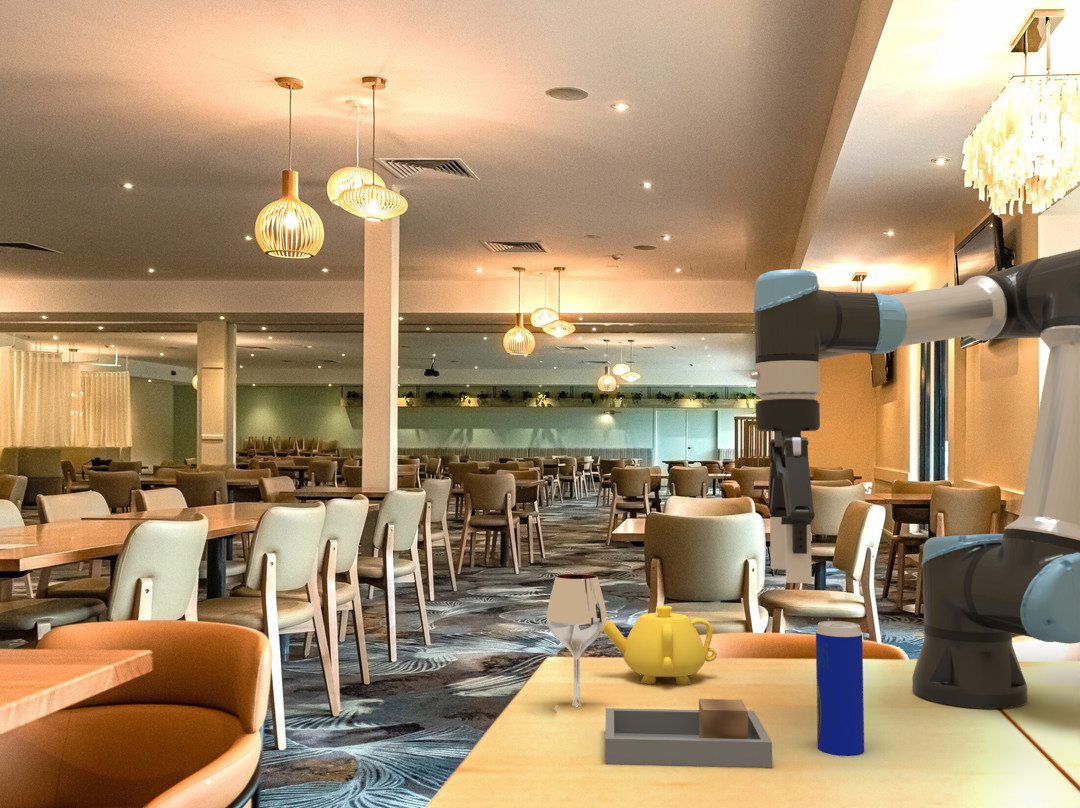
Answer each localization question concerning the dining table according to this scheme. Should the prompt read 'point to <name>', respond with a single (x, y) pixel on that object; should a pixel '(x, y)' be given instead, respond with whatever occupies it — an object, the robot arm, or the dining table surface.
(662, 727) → the tray
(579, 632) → the wineglass
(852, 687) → the beverage can
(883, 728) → the dining table surface
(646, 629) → the teapot
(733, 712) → the walnut block
